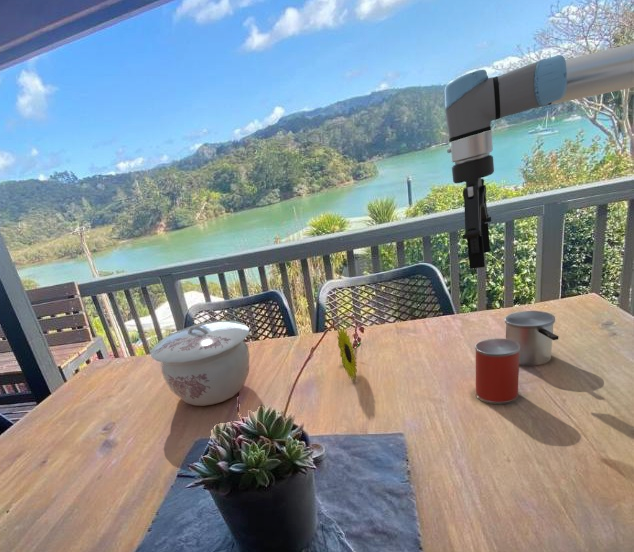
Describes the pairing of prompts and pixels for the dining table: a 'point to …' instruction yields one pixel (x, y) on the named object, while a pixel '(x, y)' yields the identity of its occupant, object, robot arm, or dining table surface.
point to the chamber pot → (205, 361)
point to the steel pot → (531, 335)
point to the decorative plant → (347, 353)
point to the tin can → (497, 371)
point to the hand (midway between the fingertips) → (480, 259)
